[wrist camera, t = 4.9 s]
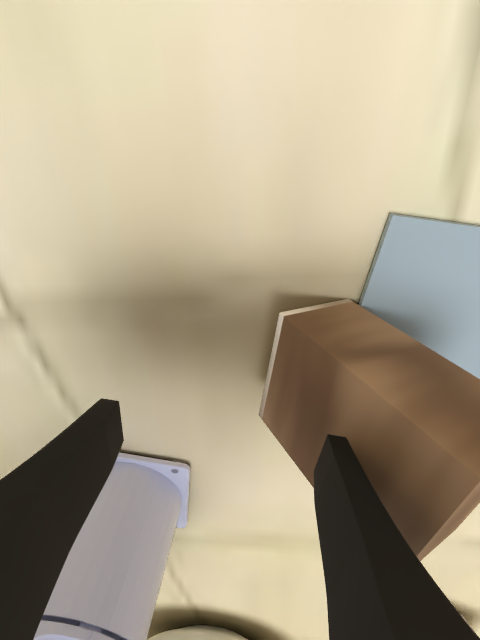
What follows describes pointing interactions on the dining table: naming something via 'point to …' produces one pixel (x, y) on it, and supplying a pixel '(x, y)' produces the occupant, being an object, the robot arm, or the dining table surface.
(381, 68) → the dining table surface
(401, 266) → the mat
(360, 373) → the block
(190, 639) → the serving bowl
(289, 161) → the dining table surface
